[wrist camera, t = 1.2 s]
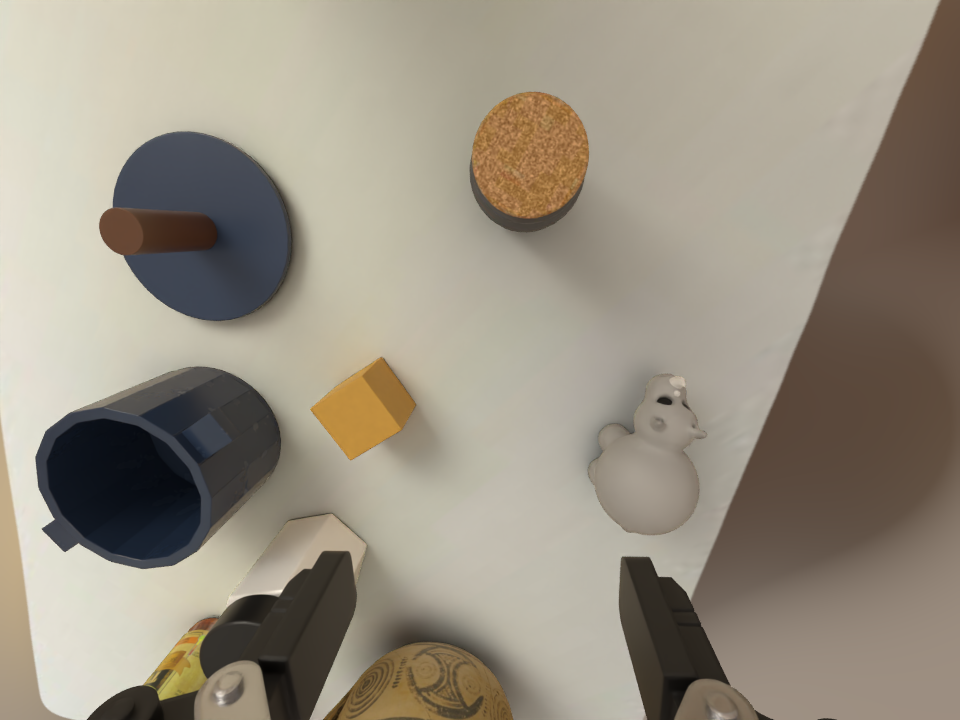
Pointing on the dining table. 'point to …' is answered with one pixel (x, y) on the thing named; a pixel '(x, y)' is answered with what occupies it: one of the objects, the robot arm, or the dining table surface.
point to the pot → (156, 466)
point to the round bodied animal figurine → (650, 462)
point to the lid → (199, 226)
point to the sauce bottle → (182, 664)
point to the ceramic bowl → (425, 687)
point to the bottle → (529, 161)
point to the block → (365, 409)
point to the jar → (274, 583)
